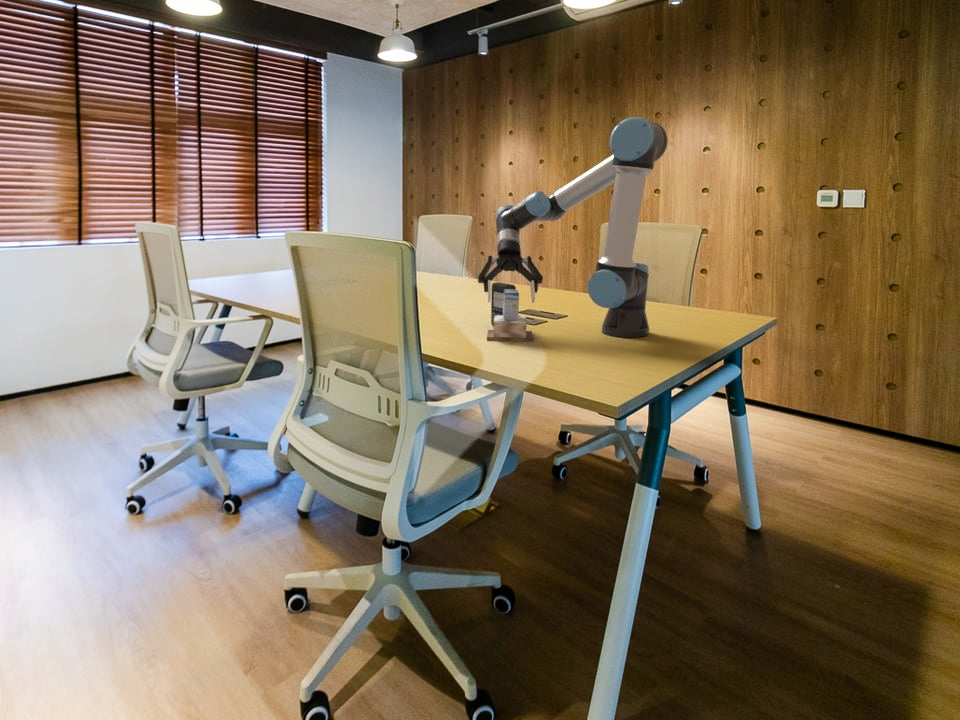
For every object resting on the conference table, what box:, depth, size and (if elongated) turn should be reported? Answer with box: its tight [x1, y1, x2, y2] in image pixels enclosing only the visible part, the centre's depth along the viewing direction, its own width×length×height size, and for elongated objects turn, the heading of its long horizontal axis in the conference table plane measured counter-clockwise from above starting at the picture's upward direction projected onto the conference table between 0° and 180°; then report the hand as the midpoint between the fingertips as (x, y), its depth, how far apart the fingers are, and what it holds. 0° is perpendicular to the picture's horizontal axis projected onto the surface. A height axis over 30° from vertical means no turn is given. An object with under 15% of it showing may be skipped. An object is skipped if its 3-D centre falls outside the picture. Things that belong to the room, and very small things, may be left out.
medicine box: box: [503, 289, 520, 321], centre depth 188 cm, size 8×4×9 cm, turn 1°
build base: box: [486, 315, 534, 343], centre depth 190 cm, size 14×11×6 cm
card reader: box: [490, 281, 517, 327], centre depth 203 cm, size 9×4×15 cm, turn 37°
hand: (511, 300), depth 185 cm, fingers open, 13 cm apart
